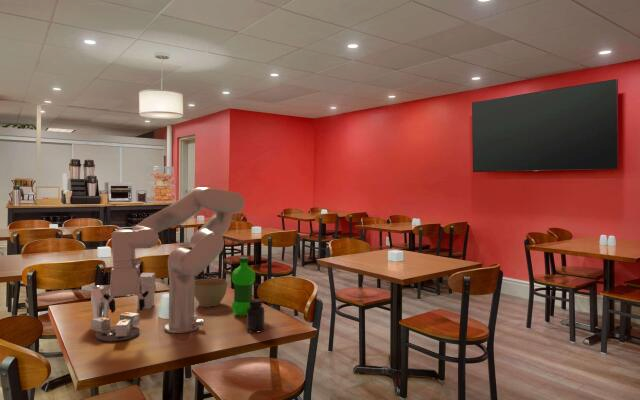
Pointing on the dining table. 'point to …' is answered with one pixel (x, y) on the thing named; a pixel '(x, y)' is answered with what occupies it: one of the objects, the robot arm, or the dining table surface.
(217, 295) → the planter bowl
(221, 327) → the dining table surface
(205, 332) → the dining table surface
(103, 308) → the beer glass
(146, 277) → the skincare box
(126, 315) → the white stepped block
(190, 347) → the dining table surface
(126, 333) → the knob
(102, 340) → the tribrach plate
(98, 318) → the white block
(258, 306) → the supplement bottle
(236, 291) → the plastic bottle
